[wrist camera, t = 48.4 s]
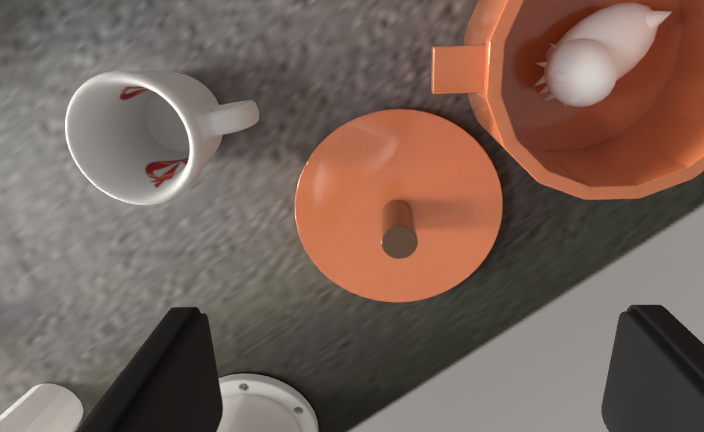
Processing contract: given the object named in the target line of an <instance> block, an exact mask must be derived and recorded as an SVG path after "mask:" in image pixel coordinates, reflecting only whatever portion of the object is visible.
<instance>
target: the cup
mask: <svg viewBox="0 0 704 432" xmlns="http://www.w3.org/2000/svg"><path fill="white" fill-rule="evenodd" d="M258 120H259V111H258V107H257V105H256V103H255V102H254V101H251V100H247V101H239V102H234V103H228V104H223V105H219V103H218V101H217V99H216V98H215V96H214V95H213V94H212V92H211V91H210V90H209V89H208V88H207V87H206V86H205V85H203V84H202V83H201V82H199V81H198V80H196V79H194V78H192V77H190V76H187V75H184V74H181V73H176V72H162V71H125V70H119V71H111V72H106V73H102V74H100V75H97V76H95V77H93V78H91V79H90V80H88V81H87V82H85V83H84V84H83V85H82V86H81V87H80V88H79V89H78V90H77V91H76V93H75V94H74V96H73V97H72V99H71V101H70V104H69V106H68V110H67V114H66V122H65V130H66V138H67V142H68V146H69V149H70V152H71V154H72V156H73V159H74V160H75V162H76V164H77V166H78V167H79V168H80V170H81V171H82V173H83V174H84V175H85V176H86V177H87V178H88V179H89V180H90V182H92V183H93V184H94V185H95V186H96V187H97V188H99V189H100V190H101V191H103V192H104V193H106V194H108V195H110V196H111V197H113V198H116V199H118V200H121V201H124V202H127V203H131V204H138V205H152V204H158V203H163V202H165V201H168V200H170V199H172V198H174V197H176V196H178V195H179V194H181V193H182V192H183V191H184V190H185V189H186V188H187V187H188V186H189V185H190V184H191V183H192V181H193V180H194V179H195V177H196V176H197V175H198V174H199V172H200V171H201V170H202V169H203V167H204V166H205V165H206V164H207V162H208V161H209V160H210V158H211V157H212V156H213V155H214V153H215V152H216V150H217V149H218V147H219V145H220V142H221V140H222V136H223V135H224V134H229V133H233V132H237V131H240V130H243V129H246V128H249V127H251V126H253V125H254V124H256V123H257V122H258Z"/></svg>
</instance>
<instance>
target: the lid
mask: <svg viewBox="0 0 704 432" xmlns="http://www.w3.org/2000/svg"><path fill="white" fill-rule="evenodd" d="M502 212H503V197H502V190H501V184H500V181H499V178H498V174H497V172H496V169H495V167H494V165H493V163H492V161H491V159H490V158H489V156H488V155H487V153H486V152H485V150H484V149H483V148H482V146H481V145H480V144H479V143H478V142H477V141H476V140H475V139H474V137H472V136H471V135H470V134H469V133H468V132H466V131H465V130H464V129H463V128H461V127H460V126H458V125H457V124H455V123H453V122H452V121H450V120H448V119H445V118H443V117H441V116H439V115H436V114H433V113H429V112H426V111H421V110H415V109H399V108H395V109H385V110H379V111H375V112H370V113H367V114H364V115H361V116H359V117H356V118H354V119H352V120H350V121H348V122H346V123H344V124H343V125H341V126H340V127H338V128H337V129H335V130H334V131H333V132H331V133H330V134H329V135H328V136H327V137H326V138H325V139H324V140H323V141H322V142H321V143H320V144H319V145H318V146H317V148H316V149H315V150H314V151H313V153H312V154H311V156H310V158H309V159H308V161H307V163H306V164H305V166H304V168H303V171H302V173H301V176H300V178H299V182H298V186H297V190H296V197H295V218H296V224H297V229H298V232H299V235H300V239H301V241H302V243H303V245H304V247H305V250H306V251H307V253H308V255H309V256H310V258H311V259H312V261H313V262H314V263H315V264H316V266H317V267H318V268H319V269H320V270H321V271H322V272H323V273H324V274H325V275H326V276H327V277H328V278H329V279H331V280H332V281H333V282H335V283H336V284H338V285H339V286H341V287H342V288H344V289H346V290H348V291H350V292H352V293H354V294H357V295H359V296H362V297H365V298H369V299H373V300H378V301H384V302H411V301H417V300H422V299H426V298H429V297H433V296H436V295H438V294H441V293H443V292H445V291H447V290H449V289H451V288H453V287H454V286H456V285H458V284H459V283H461V282H462V281H463V280H465V279H466V278H467V277H469V276H470V275H471V274H472V273H473V272H474V271H475V270H476V269H477V268H478V267H479V265H480V264H481V263H482V262H483V261H484V259H485V258H486V256H487V255H488V253H489V252H490V250H491V248H492V246H493V244H494V242H495V240H496V238H497V235H498V231H499V228H500V225H501V219H502Z"/></svg>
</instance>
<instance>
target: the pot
mask: <svg viewBox="0 0 704 432" xmlns="http://www.w3.org/2000/svg"><path fill="white" fill-rule="evenodd" d="M631 2H636V3H639V4H642V5H646V6H649V7H650V8H651V9H652V11H669V12H672V13H671V14H670V15H669V16H668V17H667V18H666V19H665V20H664V21H663V22H662V23H661V24H660V25H659V26H658V29H657V32H656V36H655V40H654V42H653V43H652V45H651V47H650V48H649V50H648V52H647V53H646V55H645V56H644V57H643V58H642V59H641V60H640V61H639V62H638V63H637V64H636V65H635V67H634V68H633V69H631V70H630V71H629V72H627V73H626V74H625V75H623V76H622V77H621V78H619V79H618V80H616V83H615V86H614V87H613V89H612V90H611V92H610V93H609V95H608V96H606V97H605V98H604V99H603V100H602V101H600V102H598V103H595V104H593V105H591V106H584V107H580V108H579V107H575V106H570V105H567V106H566V109H565V106H564V103H562V102H561V101H559V100H558V99H556V98H553V99H550V100H547V101H544V100H545V99H546V97H547V96H548V95H549V94H550V93H551V92H550V91H547V92H544V93H542V94H539V93H540V92H541V91H542V90H543V89H544V87H545V86H546V82H545V83H542V84H540V85H537V86H534V85H535V84H536V83H537V82H538V81H539V80H540V79H541V77H542V76H543V75H544V69H545V68H544V67H542V66H540V65H538V64H535V63H540V62H547V60H546V52H547V50H548V49H549V48H550V47H552V46H551V45H550V44H554V45H556V44H557V43H558V42H559V40H560V39H561V38H562V37H563V36H564V35H565V33H566V32H568V31H569V30H570V29H571V28H572V27H574V26H575V25H576V24H577V23H578V22H580V21H581V20H582V19H584V18H586V17H588V16H589V15H591V14H593V13H595V12H596V11H598V10H601V9H604V8H607V7H610V6H613V5H615V4H619V3H631ZM464 36H465V37H464V43H463V45H451V46H433V47H432V69H431V91H432V93H433V94H446V93H466V95H467V98H468V101H469V103H470V105H471V108H472V110H473V112H474V115H475V118H476V120H477V121H478V122H479V123H480V124H481V125H482V127H483V128H484V129H485V130H486V131H487V132H488V133H489V134H490V135H491V136H492V137H493V138H494V139H495V140H496V141H497V142H498V143H499V144H500V145H501V146H502V147H503V148H504V149H505V150H506V151H507V152H508V153H509V154H510V155H511V156H512V157H513V158H514V159H515V160H516V161H517V162H518V163H519V164H520V165H521V166H522V167H523V168H524V169H525V170H526V171H527V172H528V173H529V174H530V175H531V176H532V177H533V178H534V179H535V180H536V181H537V182H539V183H541V184H544V185H546V186H549V187H552V188H554V189H557V190H560V191H562V192H565V193H568V194H571V195H573V196H576V197H579V198H581V199H584V200H597V199H637V198H642V197H645V196H648V195H650V194H653V193H656V192H659V191H661V190H664V189H667V188H669V187H672V186H675V185H677V184H680V183H683V182H685V181H688V180H691V179H693V178H694V177H696V176H698V175H699V174H700V173H701V172H703V171H704V0H479V1H478V3H477V5H476V7H475V9H474V11H473V13H472V15H471V18H470V21H469V24H468V27H467V30H466V32H465V35H464ZM549 43H550V44H549ZM533 86H534V87H533ZM538 94H539V95H538ZM543 101H544V102H543Z"/></svg>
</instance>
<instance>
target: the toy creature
mask: <svg viewBox="0 0 704 432" xmlns="http://www.w3.org/2000/svg"><path fill="white" fill-rule="evenodd" d="M671 13H672V12H669V11H652V9H651V8H650V7H649V6H646V5H642V4H639V3H636V2H631V3H619V4H615V5H613V6H610V7H607V8H604V9H601V10H598V11H596V12H595V13H593V14H591V15H589V16H588V17H586V18H584V19H582V20H581V21H580V22H578V23H577V24H576V25H575V26H574V27H572V28H571V29H570V30H569V31H568V32H566V33H565V35H564V36H563V37H562V38H561V39H560V40H559V42H558V43H557V44H556V45H554V44H550V43H549V44H550V45H551V46H552V47H550V48H549V49H548V50H547V52H546V60H547V62H540V63H535V64H538V65H540V66H542V67H544V68H545V69H544V75H543V76H542V77H541V79H540V80H539V81H538V82H537V83H536V84H535V85H534V86H537V85H540V84H542V83H545V82H546V86H545V87H544V89H543V90H542V91H541V92H540V93H539V94H542V93H544V92H547V91H550V92H551V93H550V94H549V95H548V96H547V97H546V99H545V100H544V101H547V100H550V99H553V98H556V99H558V100H559V101H561V102H562V103H564V106H565V109H566V106H567V105H570V106H575V107H579V108H580V107H584V106H591V105H593V104H595V103H598V102H600V101H602V100H603V99H604V98H605V97H606V96H608V95H609V93H610V92H611V90H612V89H613V87H614V86H615V83H616V80H618V79H619V78H621V77H622V76H623V75H625V74H626V73H627V72H629V71H630V70H631V69H633V68H634V67H635V65H636V64H637V63H638V62H639V61H640V60H641V59H642V58H643V57H644V56H645V55H646V53H647V52H648V50H649V48H650V47H651V45H652V43H653V42H654V40H655V36H656V32H657V29H658V26H659V25H660V24H661V23H662V22H663V21H664V20H665V19H666V18H667V17H668V16H669V15H670V14H671ZM534 86H533V87H534ZM539 94H538V95H539ZM544 101H543V102H544Z"/></svg>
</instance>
